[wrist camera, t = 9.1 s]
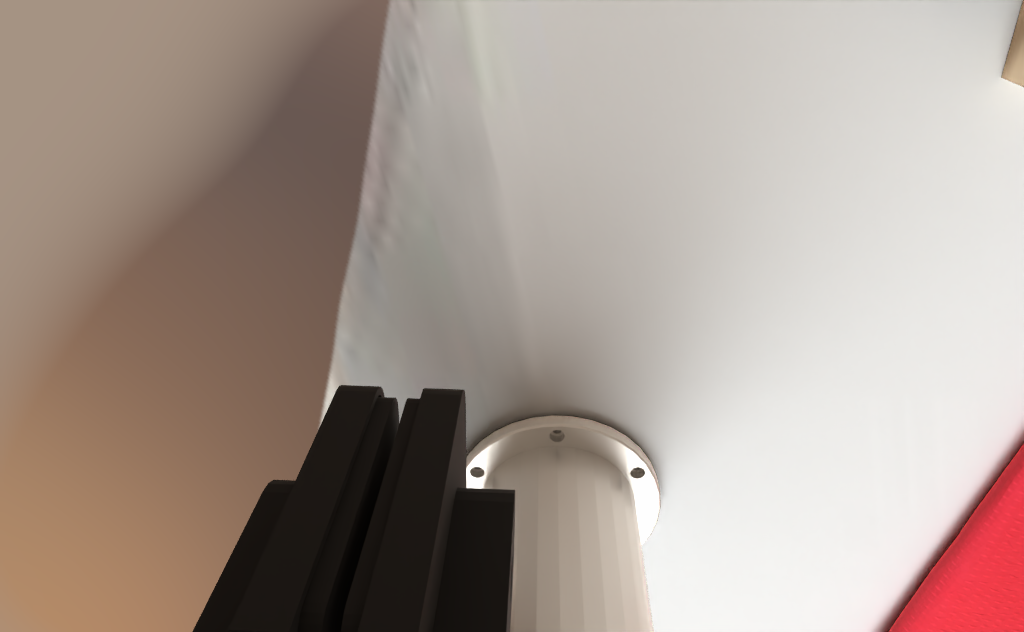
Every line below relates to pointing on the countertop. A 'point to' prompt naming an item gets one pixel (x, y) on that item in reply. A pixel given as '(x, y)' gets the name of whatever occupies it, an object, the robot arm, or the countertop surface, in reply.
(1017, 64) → the beige long bar
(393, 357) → the countertop surface
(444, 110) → the countertop surface
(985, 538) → the dish drying mat
